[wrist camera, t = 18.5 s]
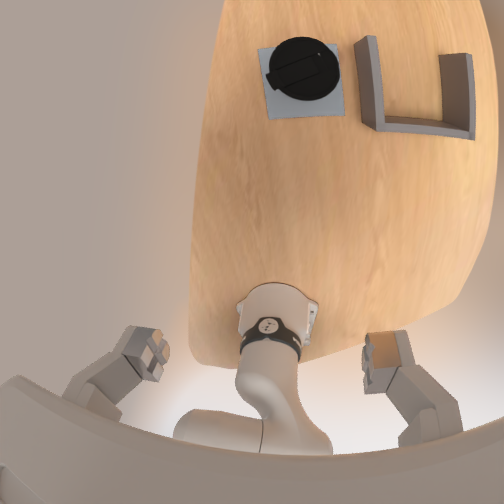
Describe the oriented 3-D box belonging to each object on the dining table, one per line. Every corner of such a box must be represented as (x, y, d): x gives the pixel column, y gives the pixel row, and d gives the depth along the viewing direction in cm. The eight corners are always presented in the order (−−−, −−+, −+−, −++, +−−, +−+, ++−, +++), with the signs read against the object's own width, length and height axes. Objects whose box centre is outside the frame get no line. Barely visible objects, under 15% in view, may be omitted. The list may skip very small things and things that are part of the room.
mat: (344, 115, 37) (345, 115, 37) (269, 119, 40) (268, 119, 40) (336, 44, 31) (336, 43, 30) (258, 49, 33) (257, 49, 33)
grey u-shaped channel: (448, 128, 34) (475, 140, 27) (361, 122, 37) (376, 131, 30) (444, 56, 27) (471, 54, 19) (353, 44, 30) (366, 35, 23)
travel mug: (272, 68, 35) (250, 53, 18) (311, 53, 32) (321, 25, 16) (290, 102, 37) (284, 114, 21) (329, 87, 35) (355, 87, 19)
